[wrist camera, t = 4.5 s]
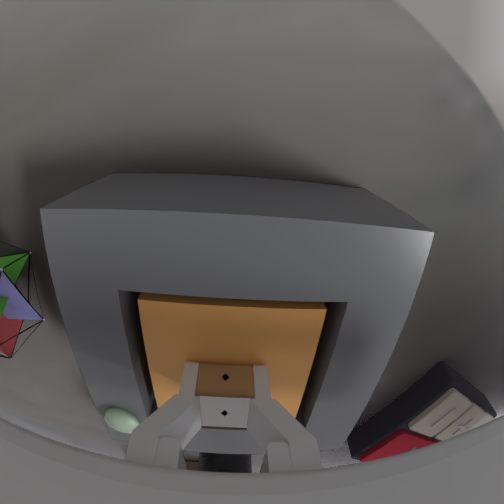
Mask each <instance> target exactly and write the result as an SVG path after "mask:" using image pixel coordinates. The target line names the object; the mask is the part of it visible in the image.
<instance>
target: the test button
mask: <svg viewBox="0 0 504 504" xmlns="http://www.w3.org/2000/svg"><path fill="white" fill-rule="evenodd" d="M138 306H139V313H140V320H141V326H142V333H143V339H144V344H145V350H146V355H147V361H148V366H149V371H150V375H151V380H152V385H153V389H154V394H155V398H156V402H157V406H158V408H159V407H160V406H162V405H163V404H164V403H165V402H166V401H167V400H169V399H170V398H171V397H172V396H173V395H174V394H178V395H179V390H180V384H181V379H182V373H183V368H184V364H185V362H186V361H189V362H199V363H200V362H202V363H213V364H232V365H252V366H253V365H267V367H268V375H269V383H270V392H271V399H276V400H277V401H278V402H279V403H280V404H281V405H282V406H283V407H284V408H285V409H286V410H287V411H288V412H289V413H290V414H291V415H292V416H293V417H294V418H296V415H297V412H298V409H299V406H300V403H301V400H302V397H303V393H304V390H305V387H306V384H307V380H308V377H309V374H310V370H311V367H312V363H313V360H314V356H315V353H316V349H317V346H318V342H319V338H320V334H321V331H322V327H323V323H324V319H325V315H326V311H327V309H326V306H325V304H324V302H306V301H274V300H250V299H230V298H212V297H197V296H182V295H169V294H157V293H145V292H141V294H140V296H139V298H138Z"/></svg>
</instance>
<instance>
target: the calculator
mask: <svg viewBox="0 0 504 504" xmlns="http://www.w3.org/2000/svg"><path fill="white" fill-rule="evenodd" d="M496 415H497V414H496V412H495V410H494V409H493V407H492V406H491V404H490V403H489V401H488V399H487V398H486V396H485V395H484V394H483V393H481V392H480V391H479V390H478V389H476V388H474V387H473V386H472V385H471V384H470V383H469V382H468V381H466V380H465V379H464V378H463V377H462V376H461V375H459V374H458V373H457V372H456V371H455V370H453V369H452V368H451V367H450V366H448V365H447V364H446V363H445V362H443V361H441V362H439V363H437V364H436V365H435V366H434V367H433V368H432V369H431V370H430V371H429V372H428V373H426V374H425V375H424V376H423V377H422V378H421V379H420V380H419V381H417V382H416V383H415V384H414V385H413V386H412V387H410V388H409V389H408V390H407V391H406V392H404V393H403V394H402V395H401V396H400V397H398V398H397V399H396V400H395V401H393V402H392V403H391V404H389V405H388V406H387V407H386V408H384V409H383V410H382V411H380V412H379V413H378V414H376V415H375V416H373V417H372V418H371V419H369V420H368V421H367V422H365V423H364V424H362V425H361V426H359V427H358V428H356V429H355V430H353V431H352V432H351V433H350V434H349V436H348V438H347V441H348V445H349V449H350V453H351V457H352V458H353V459H357V460H360V461H361V462H366V461H371V460H376V459H380V458H385V457H389V456H393V455H397V454H401V453H404V452H408V451H412V450H415V449H418V448H422V447H425V446H428V445H431V444H434V443H437V442H440V441H443V440H446V439H449V438H451V437H454V436H457V435H459V434H462V433H464V432H467V431H469V430H472V429H474V428H476V427H479V426H481V425H483V424H485V423H488V422H490V421H492V420H494V418H495V417H496Z"/></svg>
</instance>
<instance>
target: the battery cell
mask: <svg viewBox="0 0 504 504" xmlns="http://www.w3.org/2000/svg"><path fill="white" fill-rule="evenodd" d="M198 471H207V472H226V473H252V465H251V454H221V453H205V452H200V453H199V466H198Z"/></svg>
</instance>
